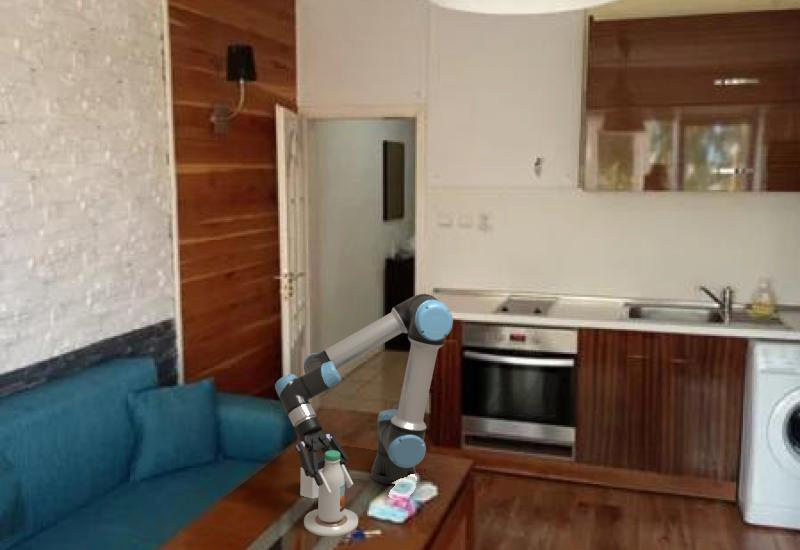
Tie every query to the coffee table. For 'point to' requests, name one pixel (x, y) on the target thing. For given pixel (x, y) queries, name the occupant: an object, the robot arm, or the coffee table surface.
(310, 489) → the jar
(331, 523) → the trivet
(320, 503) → the milk bottle
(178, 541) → the coffee table surface
